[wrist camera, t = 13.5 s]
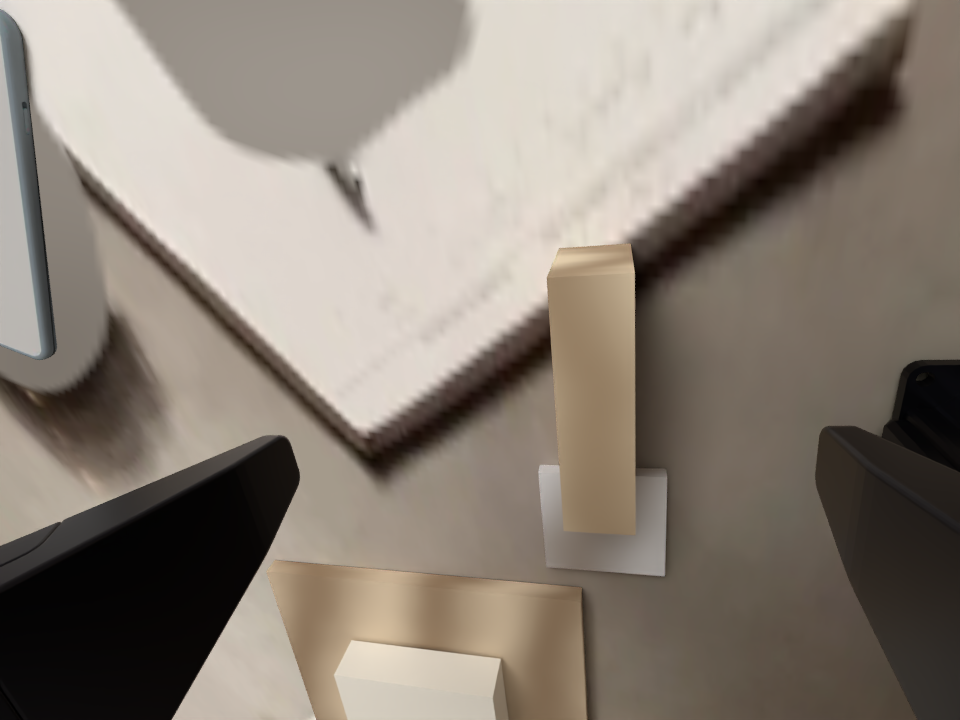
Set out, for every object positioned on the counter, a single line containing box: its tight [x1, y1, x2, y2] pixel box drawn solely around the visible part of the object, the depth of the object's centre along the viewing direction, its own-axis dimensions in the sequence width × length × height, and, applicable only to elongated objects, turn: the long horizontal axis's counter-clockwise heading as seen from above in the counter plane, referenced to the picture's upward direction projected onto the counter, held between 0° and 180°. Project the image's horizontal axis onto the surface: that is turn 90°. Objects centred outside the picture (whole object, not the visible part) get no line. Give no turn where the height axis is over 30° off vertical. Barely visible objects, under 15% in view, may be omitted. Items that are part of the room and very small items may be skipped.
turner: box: [538, 244, 667, 576], centre depth 19 cm, size 5×14×4 cm, turn 6°
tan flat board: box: [266, 560, 588, 720], centre depth 29 cm, size 16×14×1 cm
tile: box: [334, 640, 509, 720], centre depth 28 cm, size 8×2×8 cm
